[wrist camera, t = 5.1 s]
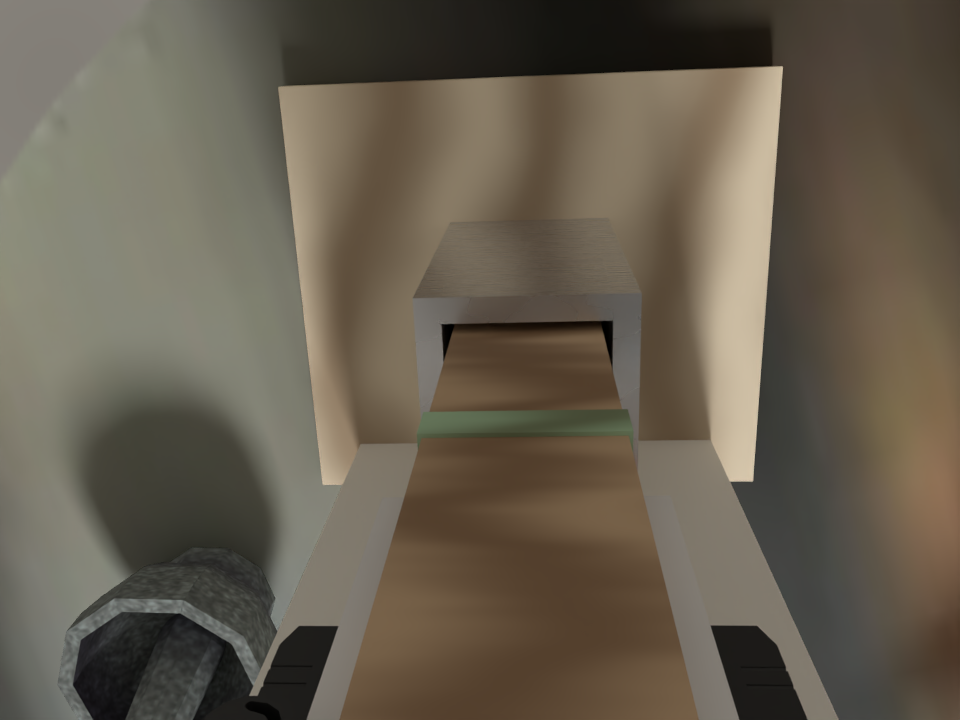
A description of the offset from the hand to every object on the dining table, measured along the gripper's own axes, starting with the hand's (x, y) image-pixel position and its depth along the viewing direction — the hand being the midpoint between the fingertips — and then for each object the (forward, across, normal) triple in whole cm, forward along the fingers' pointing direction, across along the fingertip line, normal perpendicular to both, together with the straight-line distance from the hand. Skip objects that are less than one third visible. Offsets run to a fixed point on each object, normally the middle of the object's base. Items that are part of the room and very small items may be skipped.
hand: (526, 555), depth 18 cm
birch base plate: (+22, 0, 0) cm, 22 cm away
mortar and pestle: (+22, +17, +17) cm, 33 cm away
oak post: (+15, 0, 0) cm, 15 cm away
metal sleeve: (+20, 0, 0) cm, 20 cm away
